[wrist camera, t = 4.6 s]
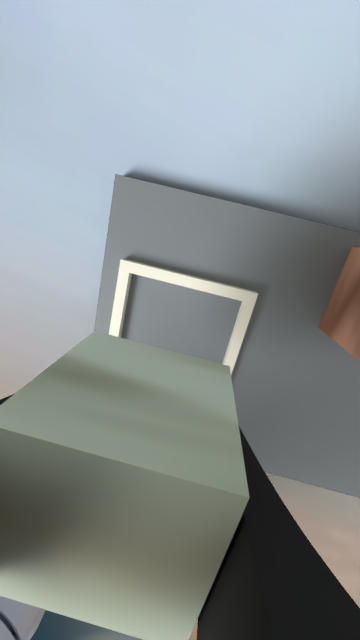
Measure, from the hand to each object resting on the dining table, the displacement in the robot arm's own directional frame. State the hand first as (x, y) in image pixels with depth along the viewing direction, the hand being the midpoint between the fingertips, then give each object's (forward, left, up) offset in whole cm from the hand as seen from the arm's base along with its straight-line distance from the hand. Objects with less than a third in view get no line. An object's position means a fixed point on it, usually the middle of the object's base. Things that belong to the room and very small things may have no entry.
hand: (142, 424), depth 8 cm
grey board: (0, -5, -9) cm, 10 cm away
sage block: (0, 0, -1) cm, 1 cm away
